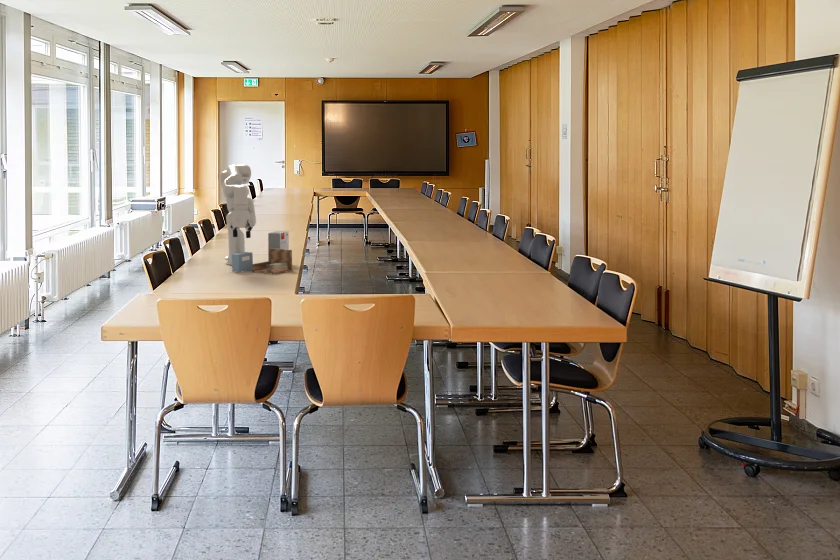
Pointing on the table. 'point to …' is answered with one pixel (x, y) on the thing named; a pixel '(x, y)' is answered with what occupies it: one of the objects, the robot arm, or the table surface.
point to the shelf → (275, 262)
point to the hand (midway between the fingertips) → (241, 237)
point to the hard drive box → (278, 240)
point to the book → (242, 261)
